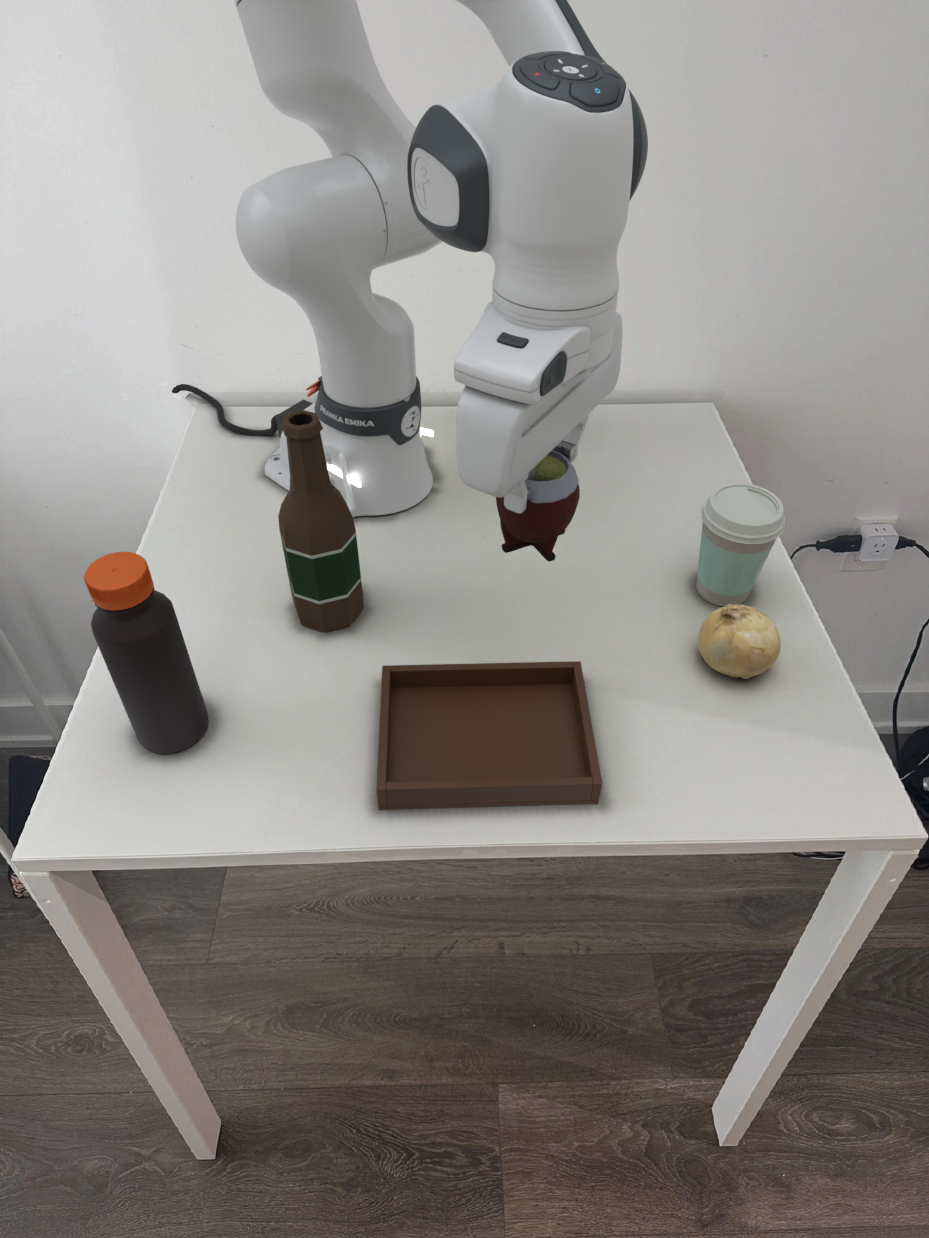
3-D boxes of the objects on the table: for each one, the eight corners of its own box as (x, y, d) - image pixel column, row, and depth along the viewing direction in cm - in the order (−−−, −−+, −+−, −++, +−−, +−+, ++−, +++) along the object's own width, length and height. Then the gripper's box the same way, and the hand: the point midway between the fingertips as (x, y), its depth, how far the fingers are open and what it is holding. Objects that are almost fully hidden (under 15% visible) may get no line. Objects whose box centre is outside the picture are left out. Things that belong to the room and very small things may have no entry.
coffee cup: (762, 620, 94) (792, 534, 85) (683, 609, 95) (704, 523, 87) (759, 570, 100) (786, 484, 91) (684, 560, 101) (704, 475, 93)
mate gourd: (546, 508, 80) (559, 358, 69) (594, 557, 75) (616, 403, 64) (475, 531, 77) (478, 379, 67) (519, 583, 72) (530, 427, 62)
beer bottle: (300, 585, 98) (266, 395, 81) (368, 586, 97) (349, 397, 81) (287, 633, 92) (249, 440, 75) (360, 635, 92) (337, 442, 75)
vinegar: (212, 746, 81) (160, 589, 67) (138, 762, 80) (69, 606, 66) (206, 694, 86) (157, 537, 72) (136, 708, 85) (72, 551, 71)
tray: (378, 809, 76) (376, 789, 74) (384, 686, 87) (382, 665, 85) (598, 804, 77) (602, 783, 75) (577, 681, 87) (580, 660, 85)
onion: (753, 630, 93) (770, 580, 88) (785, 684, 87) (805, 635, 82) (682, 638, 92) (695, 589, 87) (710, 694, 86) (725, 645, 81)
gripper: (579, 266, 70) (565, 417, 79) (438, 369, 57) (443, 534, 67) (651, 283, 67) (628, 437, 77) (521, 395, 55) (513, 561, 64)
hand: (541, 483), depth 72 cm, fingers closed on mate gourd, 6 cm apart
